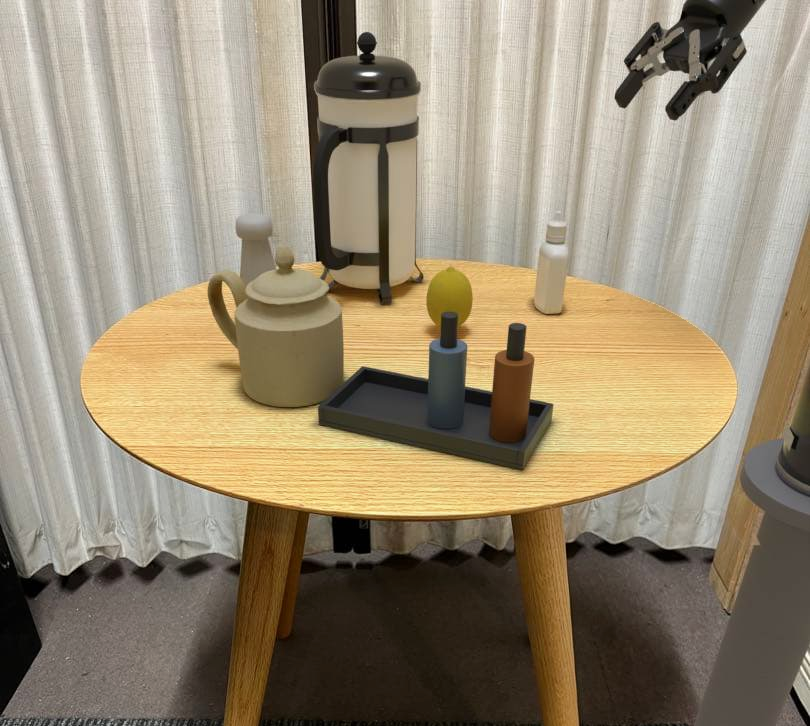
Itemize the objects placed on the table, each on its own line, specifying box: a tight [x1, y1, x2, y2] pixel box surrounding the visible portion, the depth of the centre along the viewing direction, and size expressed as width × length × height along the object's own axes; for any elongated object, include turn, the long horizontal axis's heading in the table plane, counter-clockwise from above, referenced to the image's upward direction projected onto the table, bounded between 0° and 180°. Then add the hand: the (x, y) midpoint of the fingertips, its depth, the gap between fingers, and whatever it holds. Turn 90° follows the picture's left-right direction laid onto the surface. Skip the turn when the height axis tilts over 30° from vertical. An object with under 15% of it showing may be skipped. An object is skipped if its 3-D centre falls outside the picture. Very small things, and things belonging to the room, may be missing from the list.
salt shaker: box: [234, 212, 277, 286], centre depth 99 cm, size 6×6×13 cm
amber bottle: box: [489, 322, 535, 443], centre depth 77 cm, size 4×4×11 cm
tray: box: [317, 366, 555, 471], centre depth 82 cm, size 21×10×2 cm, turn 67°
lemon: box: [426, 266, 474, 328], centre depth 99 cm, size 6×6×8 cm
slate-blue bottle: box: [427, 311, 468, 429], centre depth 79 cm, size 4×4×11 cm
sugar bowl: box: [207, 244, 345, 408], centre depth 85 cm, size 15×11×15 cm
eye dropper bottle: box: [533, 210, 570, 315], centre depth 105 cm, size 4×6×12 cm
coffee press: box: [312, 31, 425, 305], centre depth 104 cm, size 17×16×30 cm
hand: (643, 109), depth 100 cm, fingers open, 8 cm apart
